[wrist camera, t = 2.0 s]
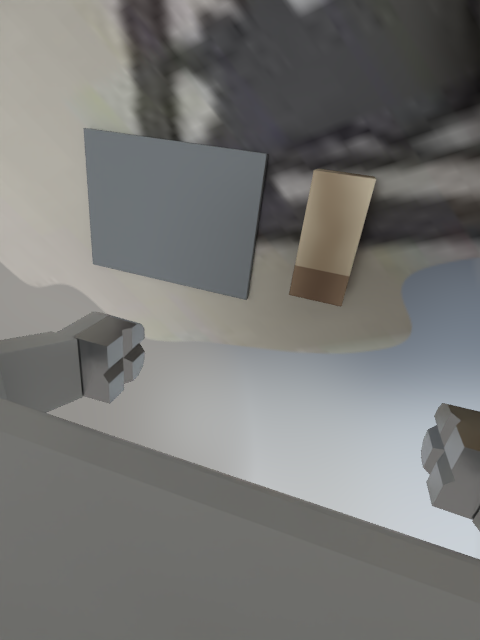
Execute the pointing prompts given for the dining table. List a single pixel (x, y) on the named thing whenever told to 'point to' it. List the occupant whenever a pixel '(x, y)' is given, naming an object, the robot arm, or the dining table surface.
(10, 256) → the dining table surface
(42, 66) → the dining table surface
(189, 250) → the mat
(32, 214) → the dining table surface
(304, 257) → the tan rectangular block
